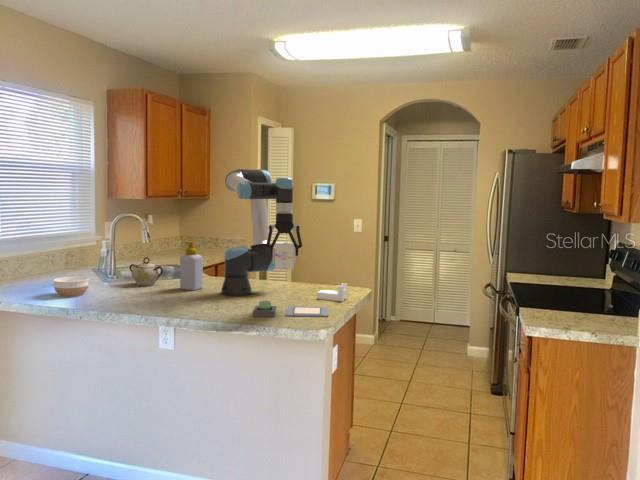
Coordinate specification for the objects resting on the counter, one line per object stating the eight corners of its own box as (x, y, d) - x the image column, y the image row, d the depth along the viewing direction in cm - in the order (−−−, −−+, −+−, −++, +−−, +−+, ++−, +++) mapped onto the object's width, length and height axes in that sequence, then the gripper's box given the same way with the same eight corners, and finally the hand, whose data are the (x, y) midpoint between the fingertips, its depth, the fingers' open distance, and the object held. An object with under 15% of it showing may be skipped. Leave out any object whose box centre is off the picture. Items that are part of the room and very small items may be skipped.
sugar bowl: (169, 283, 294) (169, 256, 292) (155, 288, 279) (155, 259, 278) (137, 281, 298) (137, 254, 296) (122, 286, 283) (121, 258, 282)
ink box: (275, 267, 242) (275, 238, 241) (293, 267, 243) (293, 238, 242) (274, 269, 234) (274, 239, 233) (293, 269, 234) (293, 239, 233)
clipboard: (285, 316, 224) (285, 314, 224) (287, 307, 240) (287, 305, 240) (328, 316, 224) (328, 315, 224) (327, 308, 240) (327, 306, 240)
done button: (258, 310, 224) (258, 303, 224) (259, 307, 229) (259, 300, 229) (270, 310, 224) (270, 303, 224) (271, 307, 229) (271, 300, 229)
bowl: (96, 293, 264) (96, 277, 263) (69, 299, 249) (69, 283, 248) (73, 290, 270) (73, 275, 269) (46, 296, 256) (45, 280, 255)
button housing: (253, 316, 222) (252, 310, 222) (255, 311, 231) (255, 305, 231) (274, 317, 222) (274, 311, 222) (276, 311, 231) (276, 306, 231)
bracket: (346, 298, 261) (347, 283, 260) (342, 301, 254) (342, 286, 254) (322, 296, 266) (322, 281, 265) (317, 299, 259) (317, 284, 258)
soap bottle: (179, 289, 276) (178, 241, 273) (189, 286, 284) (189, 240, 282) (193, 291, 273) (193, 242, 270) (203, 288, 281) (203, 240, 278)
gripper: (259, 212, 233) (259, 263, 235) (308, 213, 232) (307, 264, 234) (261, 212, 240) (261, 261, 242) (308, 212, 240) (308, 262, 242)
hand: (284, 263), depth 238 cm, fingers closed on ink box, 9 cm apart
